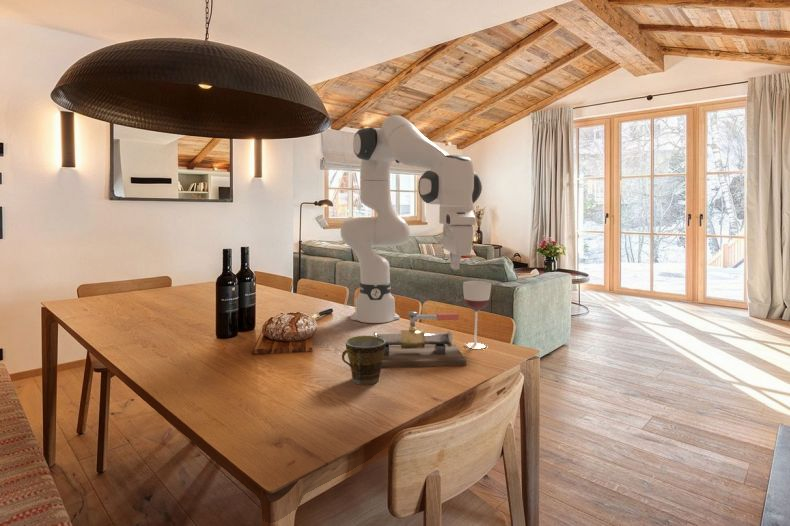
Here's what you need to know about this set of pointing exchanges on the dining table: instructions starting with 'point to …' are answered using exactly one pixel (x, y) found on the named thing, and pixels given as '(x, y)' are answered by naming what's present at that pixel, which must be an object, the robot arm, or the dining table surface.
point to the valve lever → (432, 316)
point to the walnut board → (423, 357)
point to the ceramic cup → (365, 358)
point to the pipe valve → (417, 340)
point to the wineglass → (476, 302)
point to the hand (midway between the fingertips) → (454, 268)
